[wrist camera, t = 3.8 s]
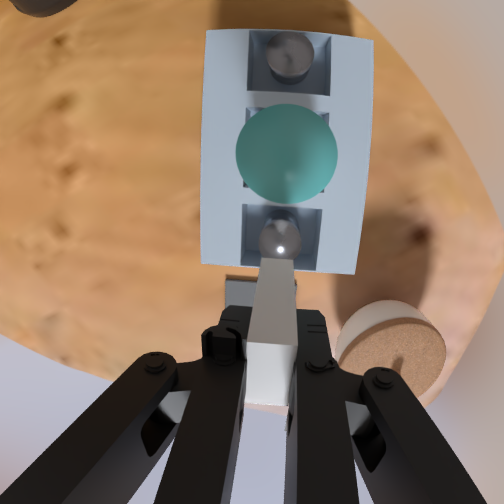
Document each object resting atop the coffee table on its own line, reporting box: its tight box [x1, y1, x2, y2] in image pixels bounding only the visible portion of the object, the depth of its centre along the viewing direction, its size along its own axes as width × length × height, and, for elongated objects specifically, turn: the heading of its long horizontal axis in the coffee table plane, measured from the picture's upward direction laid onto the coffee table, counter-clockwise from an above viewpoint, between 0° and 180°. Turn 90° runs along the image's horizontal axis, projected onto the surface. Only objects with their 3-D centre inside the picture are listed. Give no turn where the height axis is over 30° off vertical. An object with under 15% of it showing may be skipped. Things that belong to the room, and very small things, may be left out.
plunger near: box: [266, 31, 314, 85], centre depth 19 cm, size 3×3×4 cm
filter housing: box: [200, 29, 374, 275], centre depth 24 cm, size 12×18×6 cm, turn 178°
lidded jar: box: [335, 300, 446, 398], centre depth 28 cm, size 11×11×9 cm
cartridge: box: [235, 104, 338, 204], centre depth 19 cm, size 5×5×11 cm
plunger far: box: [258, 209, 302, 260], centre depth 24 cm, size 3×3×4 cm
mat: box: [225, 279, 297, 309], centre depth 33 cm, size 7×7×1 cm
